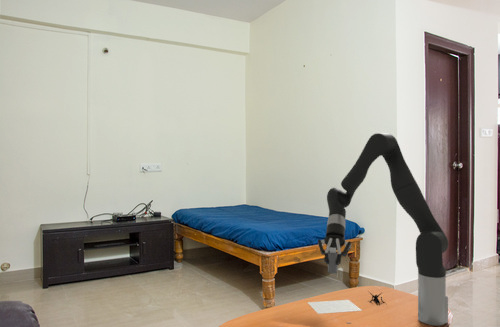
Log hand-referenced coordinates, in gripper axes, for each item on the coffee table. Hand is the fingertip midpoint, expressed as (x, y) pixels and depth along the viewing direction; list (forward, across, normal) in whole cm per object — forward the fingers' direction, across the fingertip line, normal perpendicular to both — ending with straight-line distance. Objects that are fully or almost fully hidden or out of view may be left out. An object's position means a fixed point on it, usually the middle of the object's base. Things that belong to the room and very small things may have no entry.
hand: (332, 263), depth 149 cm
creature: (+4, +16, +23) cm, 29 cm away
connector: (+1, 0, +4) cm, 4 cm away
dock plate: (+11, 0, +16) cm, 19 cm away
